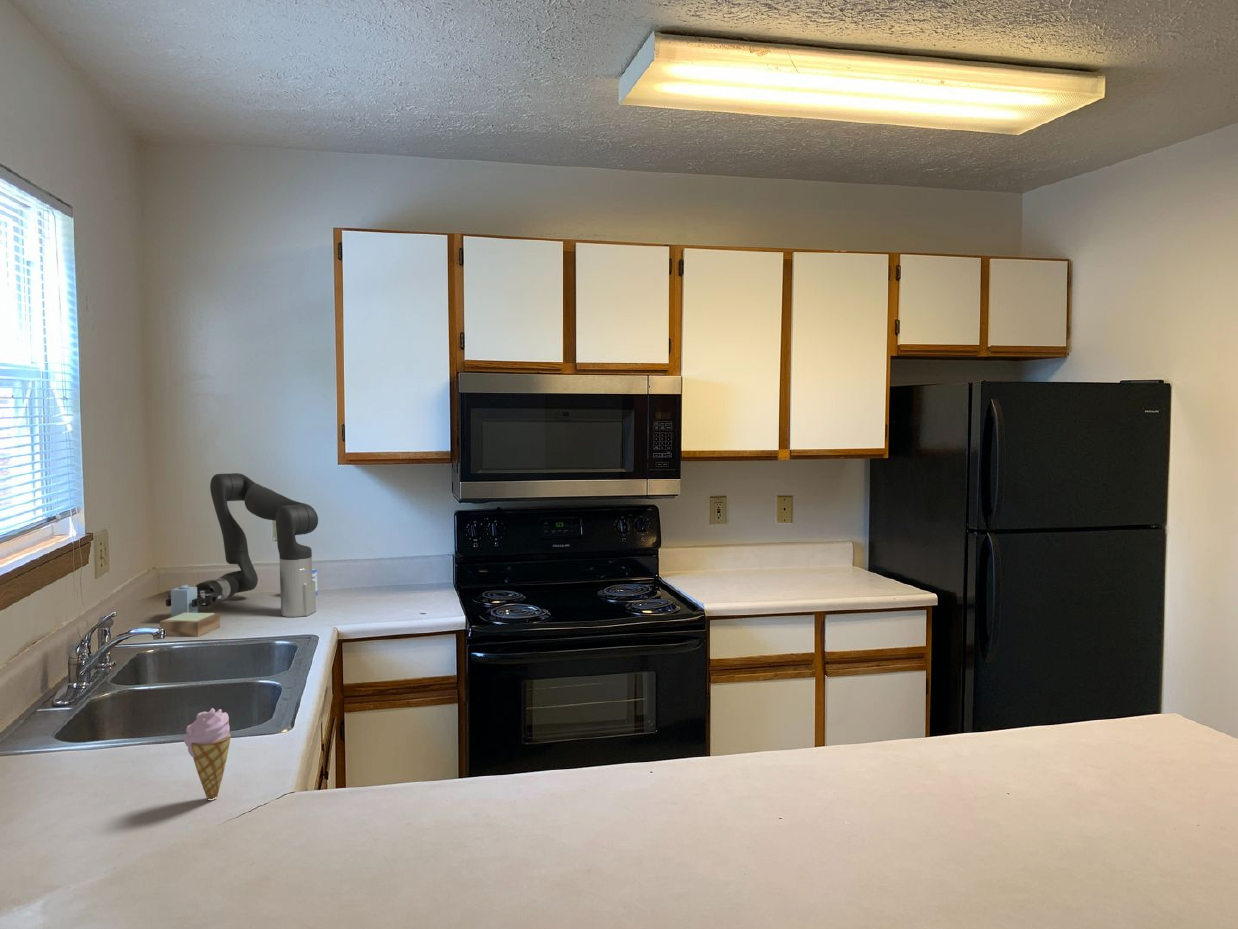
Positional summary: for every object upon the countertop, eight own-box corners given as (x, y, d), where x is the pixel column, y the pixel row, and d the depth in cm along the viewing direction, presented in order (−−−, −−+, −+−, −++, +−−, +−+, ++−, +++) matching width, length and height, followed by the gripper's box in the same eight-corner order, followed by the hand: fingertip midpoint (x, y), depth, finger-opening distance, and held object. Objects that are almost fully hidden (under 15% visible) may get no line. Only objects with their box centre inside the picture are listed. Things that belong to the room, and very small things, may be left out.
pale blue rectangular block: (198, 620, 261) (196, 584, 261) (188, 624, 256) (186, 587, 256) (182, 620, 262) (180, 583, 261) (171, 624, 257) (170, 587, 256)
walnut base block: (220, 626, 253) (219, 612, 253) (197, 636, 242) (197, 621, 242) (184, 626, 254) (183, 611, 254) (160, 635, 243) (159, 620, 243)
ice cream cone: (196, 812, 136) (193, 717, 135) (179, 800, 141) (176, 708, 140) (239, 798, 141) (236, 706, 140) (221, 787, 146) (218, 697, 145)
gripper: (189, 579, 273) (156, 590, 257) (233, 580, 272) (202, 591, 256) (190, 603, 274) (157, 615, 258) (234, 604, 272) (203, 616, 256)
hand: (180, 603), depth 257 cm, fingers open, 7 cm apart
